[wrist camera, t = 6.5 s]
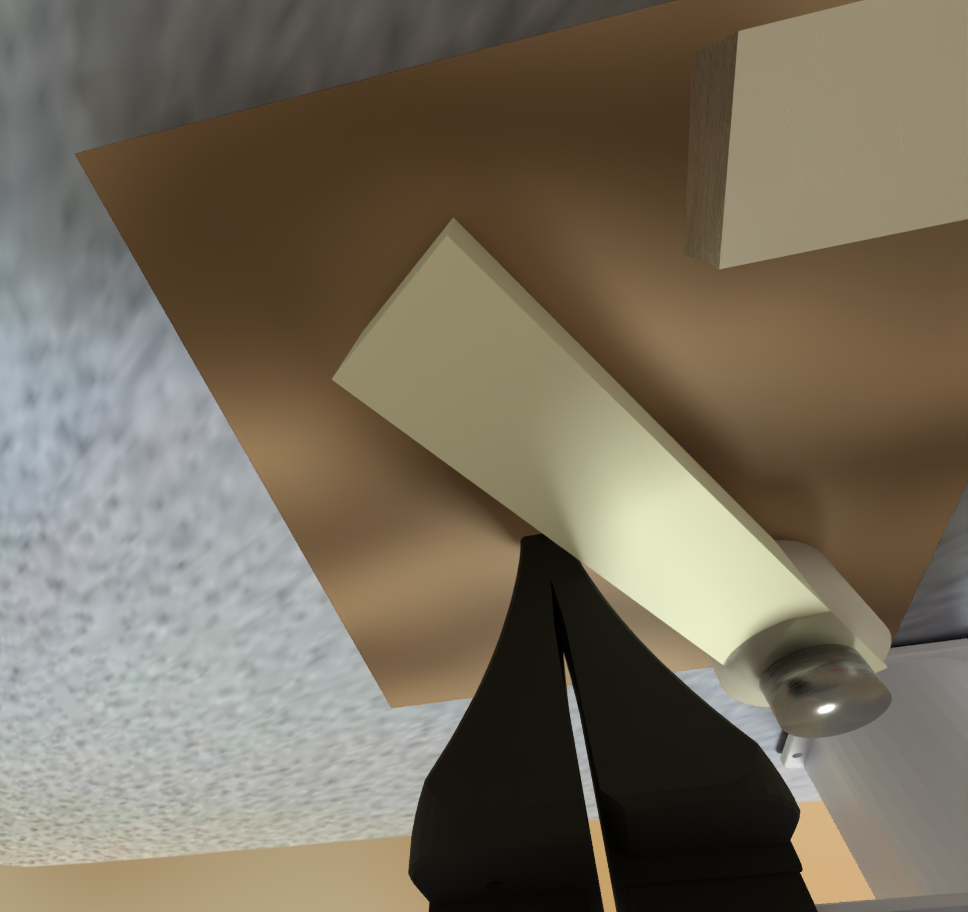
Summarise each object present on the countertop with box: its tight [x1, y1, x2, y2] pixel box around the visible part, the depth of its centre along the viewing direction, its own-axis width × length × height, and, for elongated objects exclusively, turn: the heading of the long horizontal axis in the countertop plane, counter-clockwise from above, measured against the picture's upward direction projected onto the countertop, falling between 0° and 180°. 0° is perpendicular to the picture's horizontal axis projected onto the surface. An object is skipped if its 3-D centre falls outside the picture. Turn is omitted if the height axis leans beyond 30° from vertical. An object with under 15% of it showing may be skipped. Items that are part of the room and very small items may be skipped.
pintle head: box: [759, 644, 892, 738], centre depth 12 cm, size 3×3×1 cm
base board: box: [75, 0, 968, 708], centre depth 13 cm, size 19×19×2 cm
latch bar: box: [332, 217, 891, 707], centre depth 11 cm, size 16×4×2 cm, turn 47°
